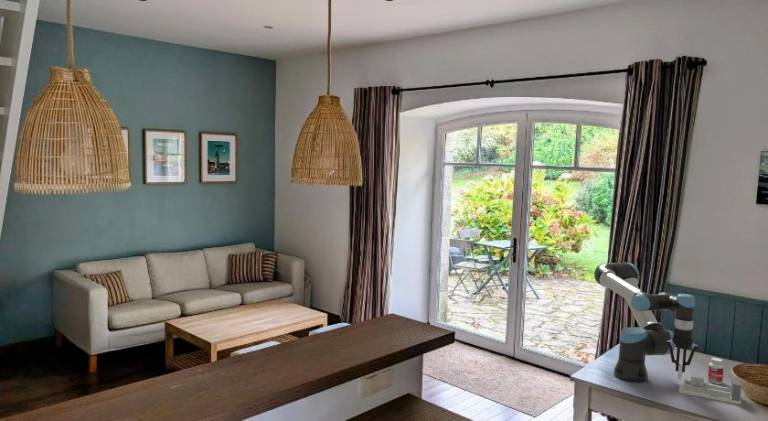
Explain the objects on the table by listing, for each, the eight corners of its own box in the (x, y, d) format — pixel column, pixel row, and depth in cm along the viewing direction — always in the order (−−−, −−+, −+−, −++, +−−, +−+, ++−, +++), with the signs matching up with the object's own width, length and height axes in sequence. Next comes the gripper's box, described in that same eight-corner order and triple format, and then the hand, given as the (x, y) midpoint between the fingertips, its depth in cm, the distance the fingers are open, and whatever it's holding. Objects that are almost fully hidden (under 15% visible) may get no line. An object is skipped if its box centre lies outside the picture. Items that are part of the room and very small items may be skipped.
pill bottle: (708, 382, 272) (710, 360, 271) (706, 378, 278) (708, 356, 277) (723, 385, 269) (725, 362, 269) (721, 380, 275) (723, 358, 274)
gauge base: (678, 392, 259) (680, 374, 258) (679, 385, 267) (680, 368, 267) (740, 404, 247) (742, 386, 247) (739, 396, 256) (740, 378, 255)
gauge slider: (690, 391, 256) (691, 378, 256) (690, 386, 263) (691, 373, 262) (707, 394, 253) (708, 381, 253) (707, 389, 260) (708, 376, 259)
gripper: (667, 327, 260) (663, 378, 262) (699, 332, 254) (695, 384, 256) (667, 324, 267) (664, 373, 269) (699, 328, 261) (695, 378, 263)
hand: (679, 378), depth 263 cm, fingers closed
